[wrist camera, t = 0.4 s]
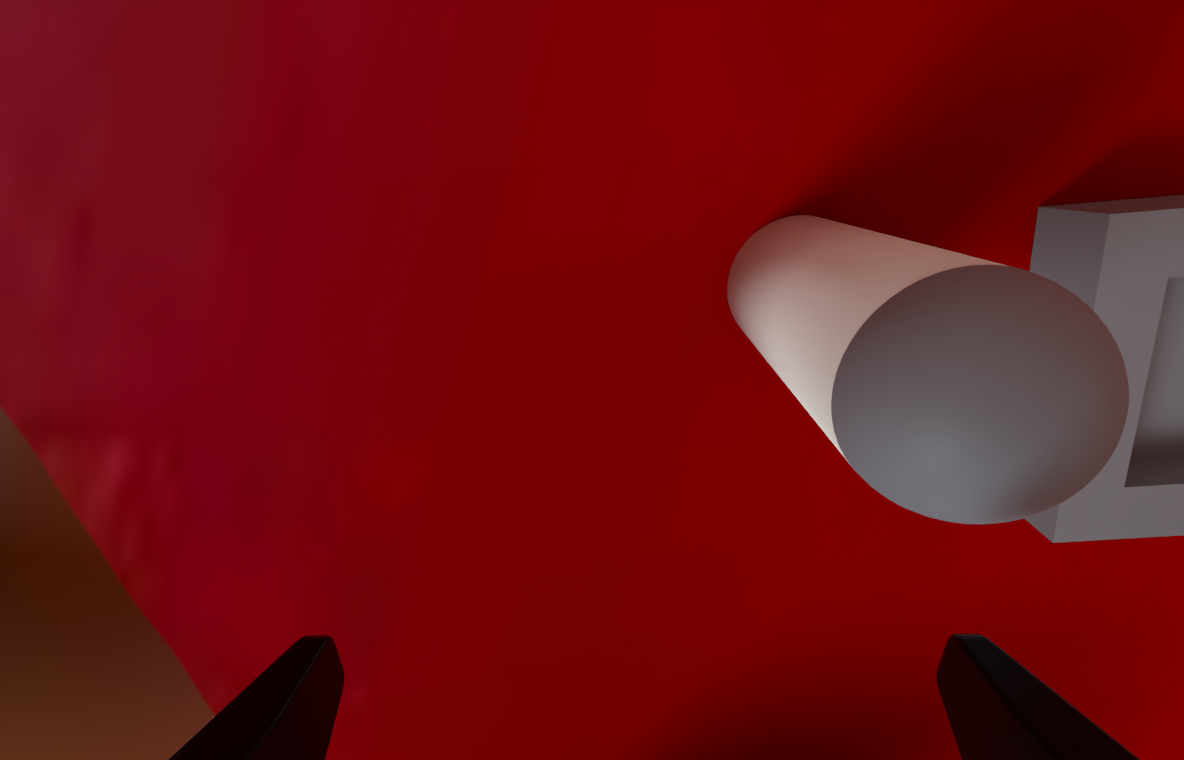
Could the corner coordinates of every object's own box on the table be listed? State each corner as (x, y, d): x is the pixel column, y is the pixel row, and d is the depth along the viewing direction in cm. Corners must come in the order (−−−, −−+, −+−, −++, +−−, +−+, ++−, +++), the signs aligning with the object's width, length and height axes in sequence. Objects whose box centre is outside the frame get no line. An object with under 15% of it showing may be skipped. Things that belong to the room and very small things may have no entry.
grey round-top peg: (861, 345, 23) (1176, 572, 10) (728, 355, 23) (874, 589, 10) (868, 209, 21) (1251, 277, 9) (726, 221, 22) (893, 304, 9)
